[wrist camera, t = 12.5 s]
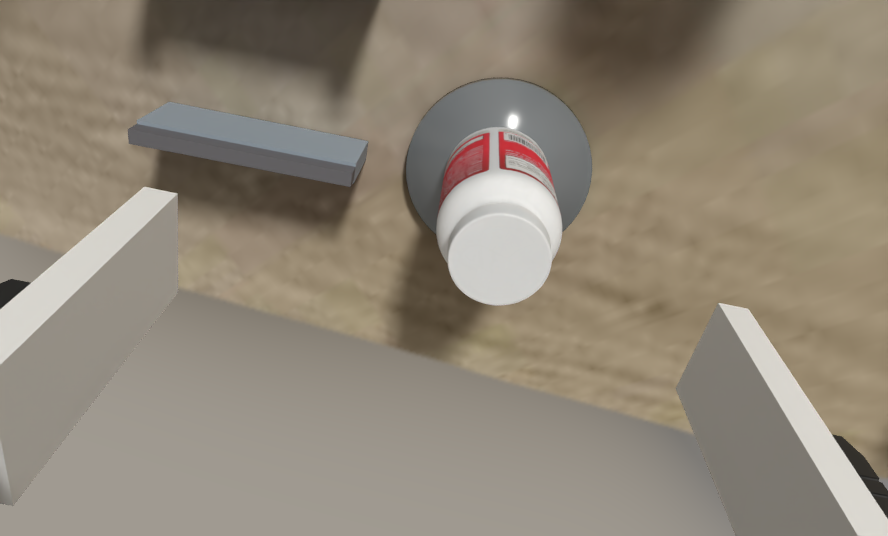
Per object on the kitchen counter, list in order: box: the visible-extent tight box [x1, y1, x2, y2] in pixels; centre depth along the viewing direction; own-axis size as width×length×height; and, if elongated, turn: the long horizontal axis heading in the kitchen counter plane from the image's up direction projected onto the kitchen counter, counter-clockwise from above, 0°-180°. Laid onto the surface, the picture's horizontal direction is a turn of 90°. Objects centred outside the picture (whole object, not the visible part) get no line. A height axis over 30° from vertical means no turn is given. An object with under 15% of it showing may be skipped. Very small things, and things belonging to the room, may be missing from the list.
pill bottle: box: [436, 127, 562, 306], centre depth 34 cm, size 6×6×11 cm
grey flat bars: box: [128, 102, 368, 187], centre depth 33 cm, size 12×12×7 cm
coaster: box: [406, 78, 592, 235], centre depth 39 cm, size 11×11×1 cm
